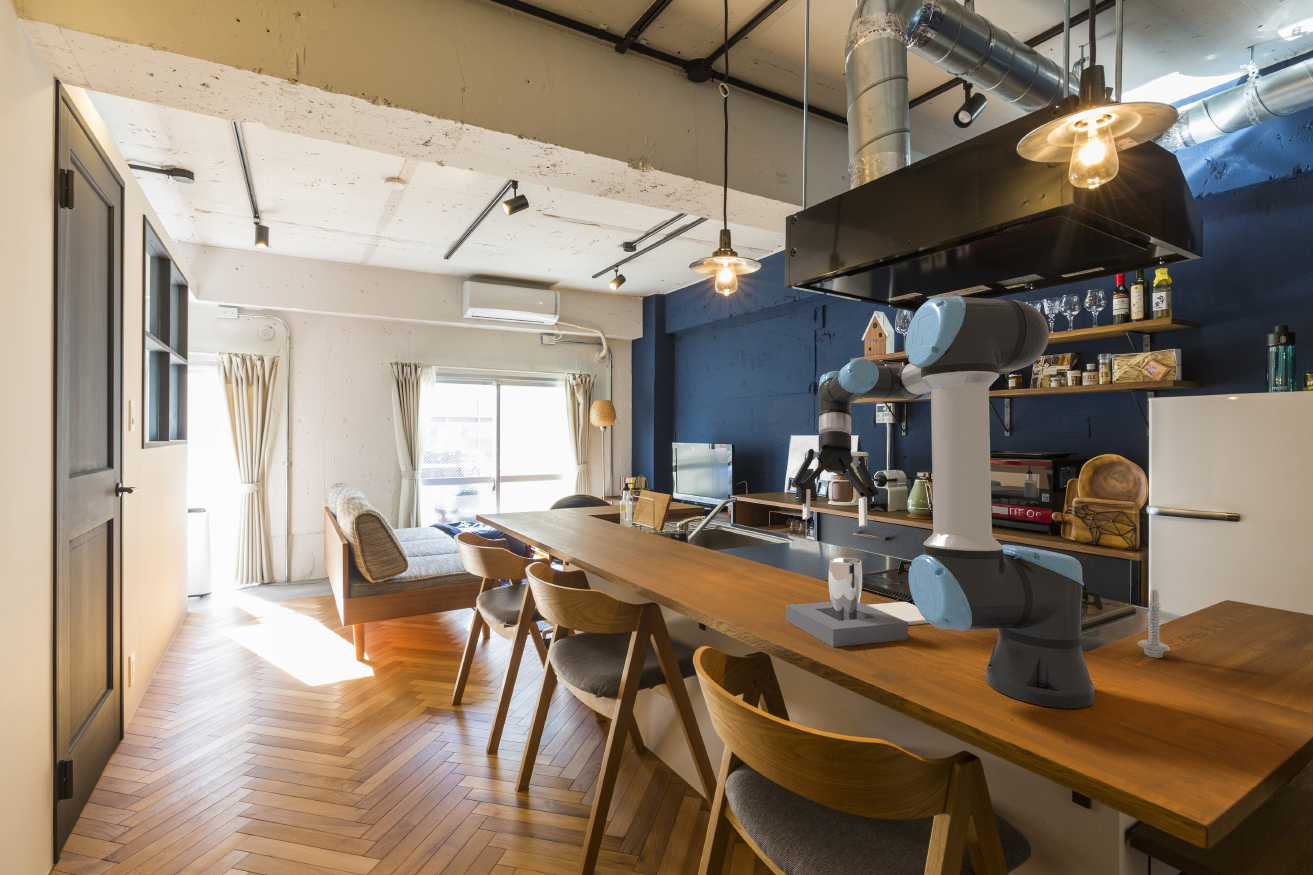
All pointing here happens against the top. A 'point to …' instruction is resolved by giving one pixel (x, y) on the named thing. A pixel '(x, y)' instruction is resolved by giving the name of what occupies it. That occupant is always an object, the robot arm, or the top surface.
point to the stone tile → (902, 612)
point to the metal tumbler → (845, 587)
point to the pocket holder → (846, 624)
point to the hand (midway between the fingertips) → (834, 522)
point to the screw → (1154, 630)
